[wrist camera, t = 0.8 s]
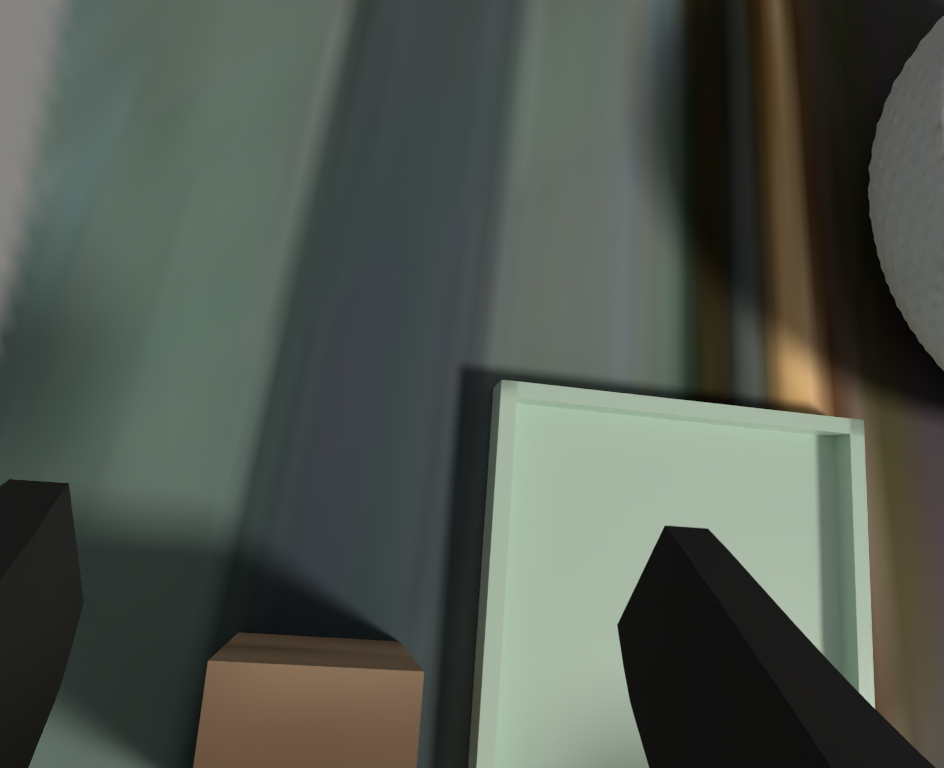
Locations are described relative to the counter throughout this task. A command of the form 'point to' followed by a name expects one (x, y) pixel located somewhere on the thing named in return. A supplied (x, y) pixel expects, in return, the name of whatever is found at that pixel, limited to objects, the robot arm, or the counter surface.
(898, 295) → the cereal bowl
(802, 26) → the counter surface
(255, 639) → the walnut block
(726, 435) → the tray
